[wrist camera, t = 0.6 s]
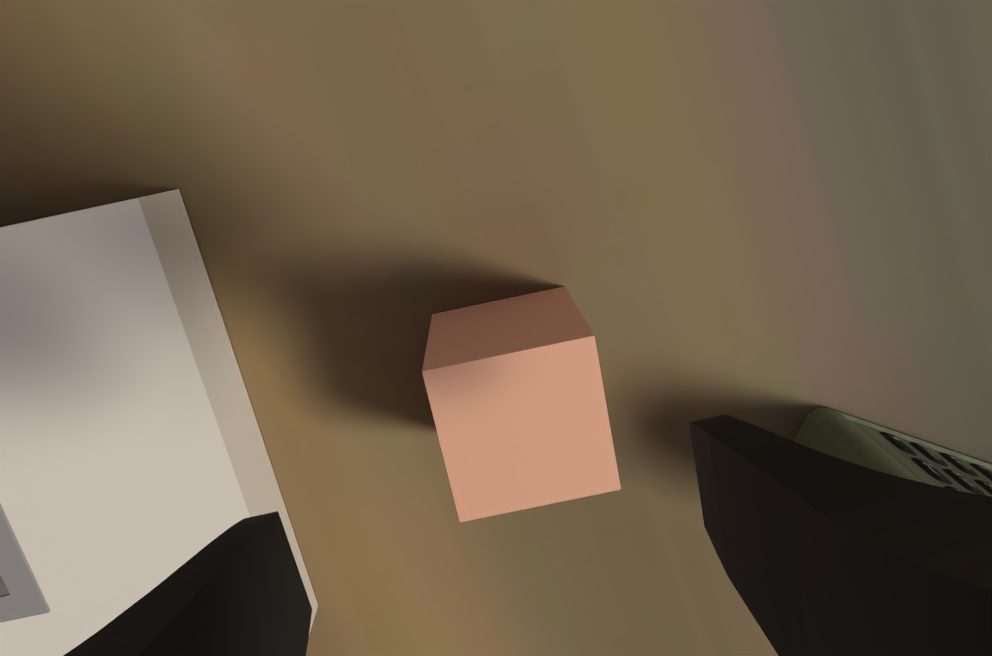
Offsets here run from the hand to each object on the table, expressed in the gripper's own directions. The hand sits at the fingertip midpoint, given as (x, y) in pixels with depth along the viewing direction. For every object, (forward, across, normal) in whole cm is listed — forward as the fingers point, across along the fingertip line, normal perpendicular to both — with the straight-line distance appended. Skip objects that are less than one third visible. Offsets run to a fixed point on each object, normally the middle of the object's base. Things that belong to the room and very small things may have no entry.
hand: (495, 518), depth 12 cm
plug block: (+10, -1, +1) cm, 10 cm away
